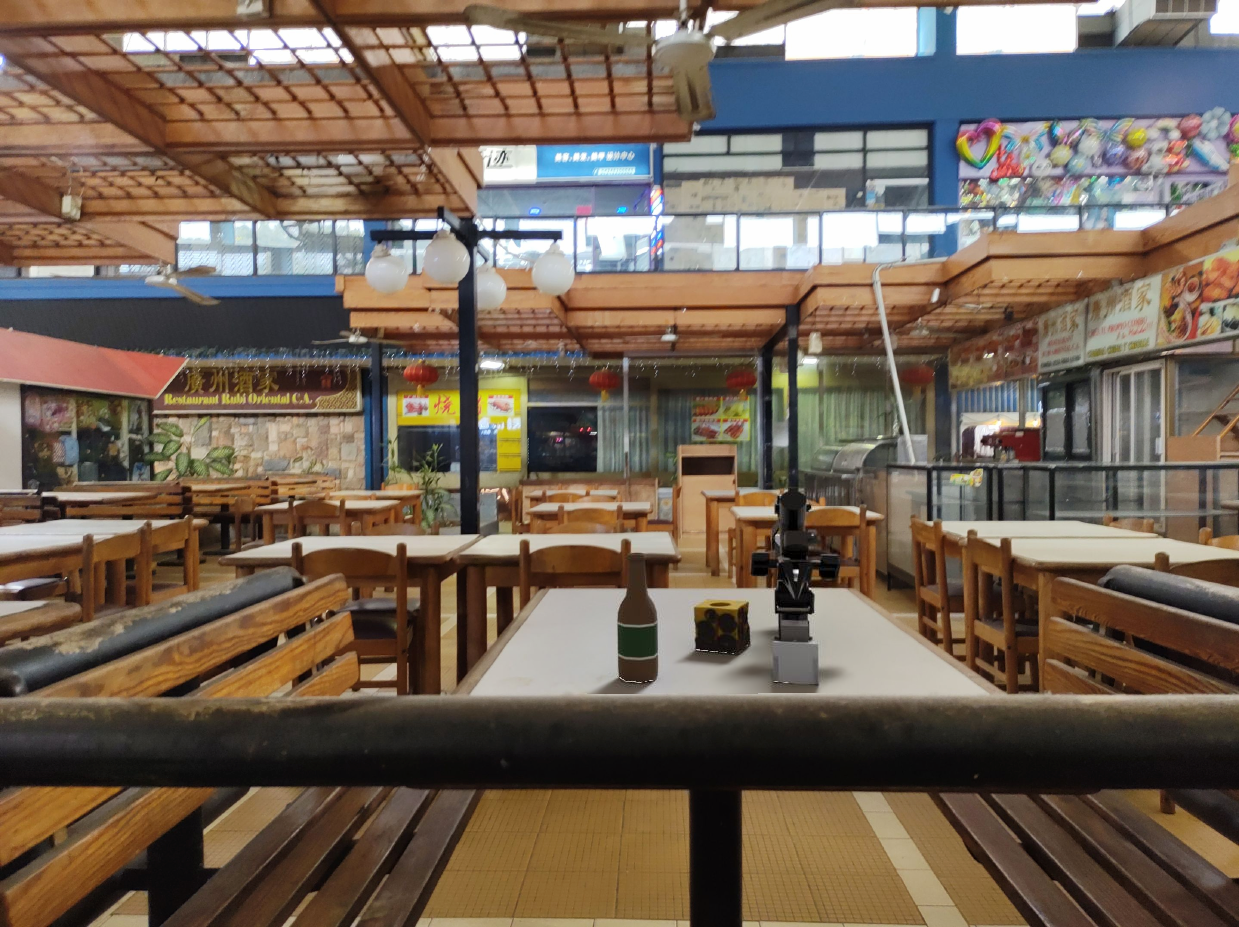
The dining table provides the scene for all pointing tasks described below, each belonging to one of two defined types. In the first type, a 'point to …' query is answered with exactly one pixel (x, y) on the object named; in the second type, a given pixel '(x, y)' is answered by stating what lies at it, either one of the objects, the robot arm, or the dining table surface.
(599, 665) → the dining table surface
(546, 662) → the dining table surface
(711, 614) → the yellow and black cube
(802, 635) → the plug
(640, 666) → the beer bottle
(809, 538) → the robot arm
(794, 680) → the socket
